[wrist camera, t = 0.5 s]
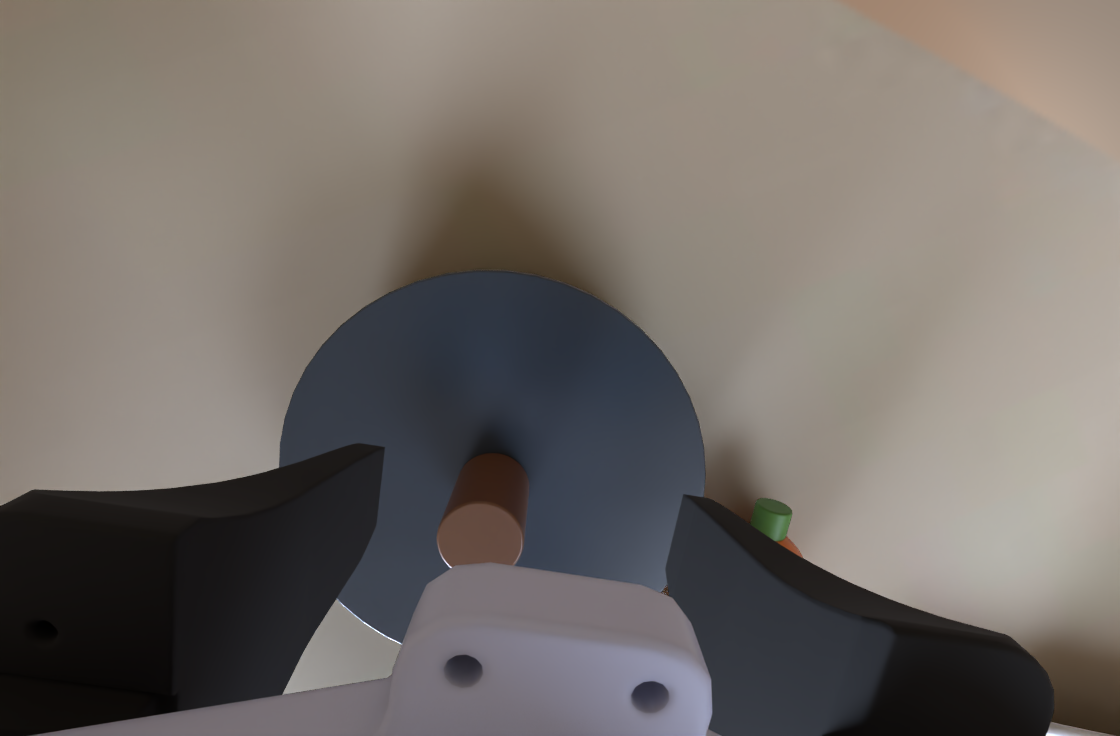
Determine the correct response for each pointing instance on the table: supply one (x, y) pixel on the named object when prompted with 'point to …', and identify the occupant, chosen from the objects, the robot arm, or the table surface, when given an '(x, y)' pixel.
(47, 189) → the table surface
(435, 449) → the lid
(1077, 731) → the tray
